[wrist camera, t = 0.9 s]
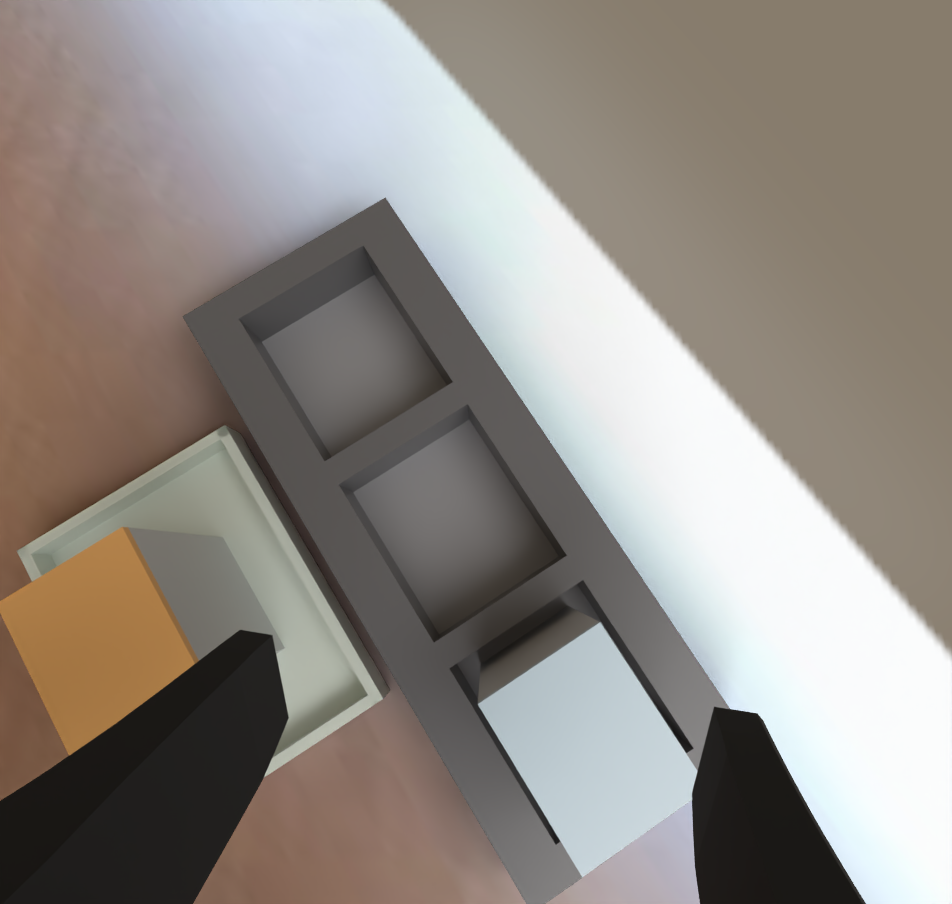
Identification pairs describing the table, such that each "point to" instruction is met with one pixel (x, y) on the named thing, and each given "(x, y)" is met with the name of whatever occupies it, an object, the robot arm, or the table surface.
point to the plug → (127, 623)
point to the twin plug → (584, 736)
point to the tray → (263, 564)
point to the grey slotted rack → (435, 503)
